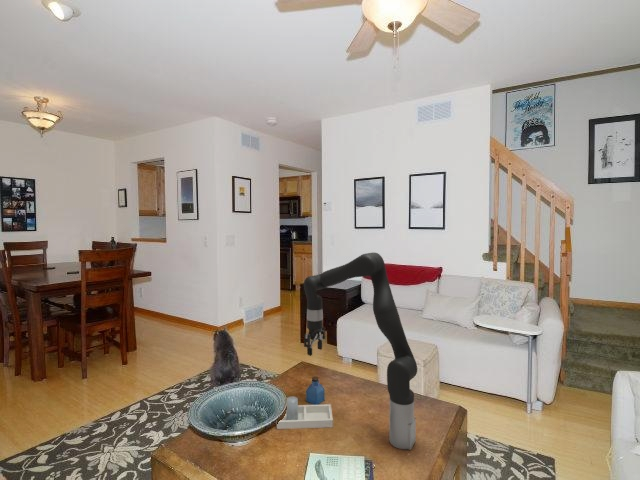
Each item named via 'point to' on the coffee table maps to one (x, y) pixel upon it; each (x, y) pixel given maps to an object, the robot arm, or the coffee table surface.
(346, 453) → the coffee table surface
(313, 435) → the coffee table surface
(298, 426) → the tray
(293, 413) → the grey rounded cylinder
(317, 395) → the perfume bottle
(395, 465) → the coffee table surface
